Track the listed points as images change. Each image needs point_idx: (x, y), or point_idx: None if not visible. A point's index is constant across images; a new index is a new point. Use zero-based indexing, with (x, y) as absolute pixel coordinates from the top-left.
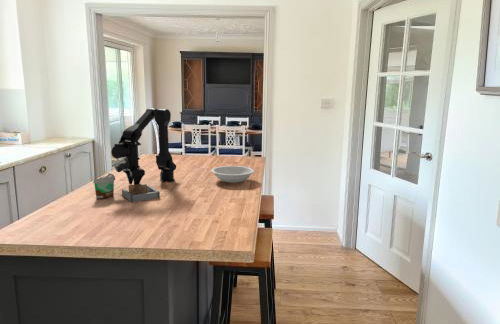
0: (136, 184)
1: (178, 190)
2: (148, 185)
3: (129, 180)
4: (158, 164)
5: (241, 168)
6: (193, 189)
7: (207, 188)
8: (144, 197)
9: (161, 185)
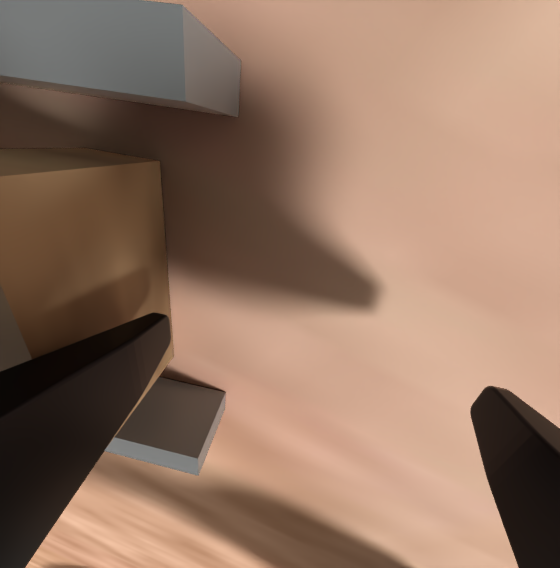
0: (15, 364)
1: (136, 499)
2: (191, 468)
3: (555, 476)
4: None
5: None
6: (123, 532)
7: (116, 556)
8: None
9: (331, 528)
